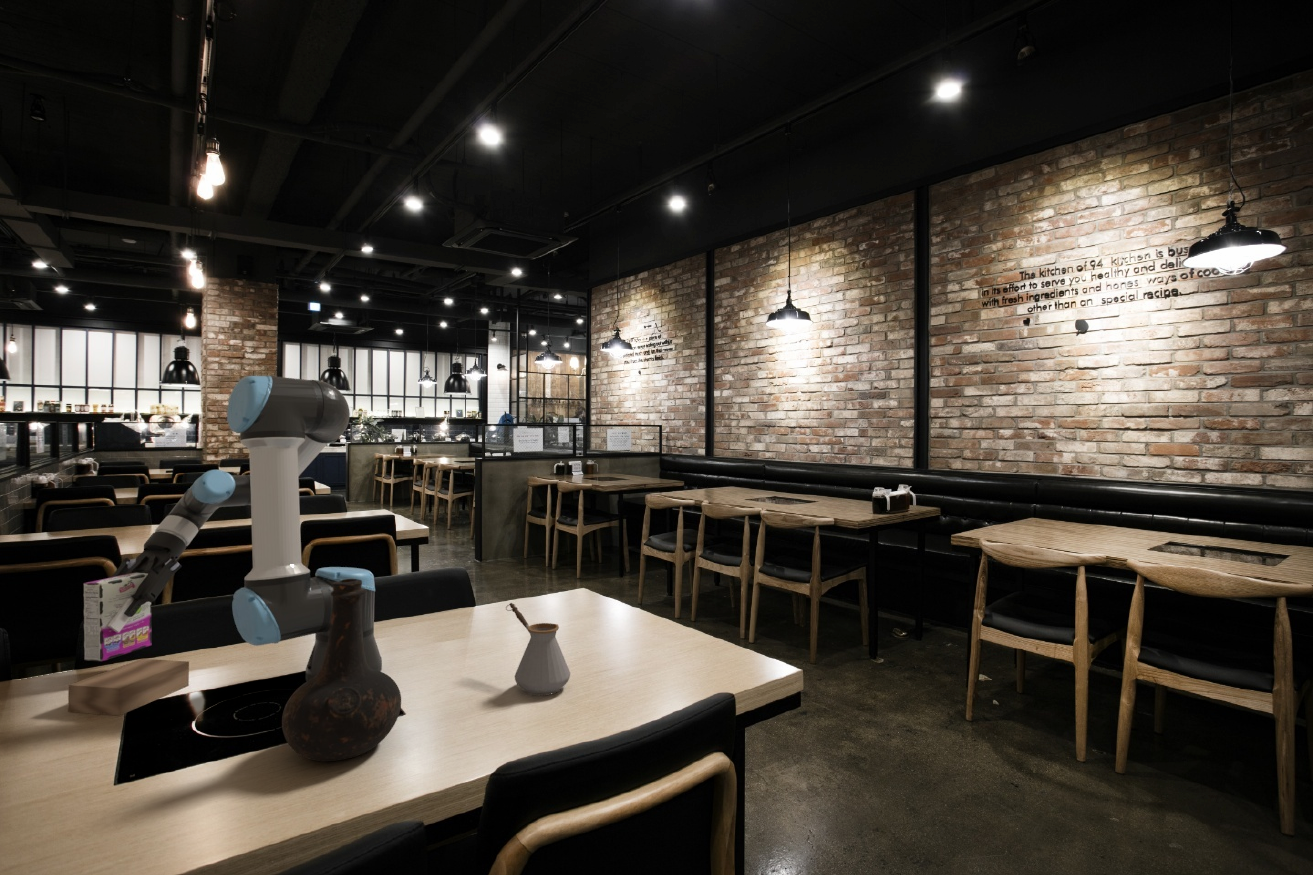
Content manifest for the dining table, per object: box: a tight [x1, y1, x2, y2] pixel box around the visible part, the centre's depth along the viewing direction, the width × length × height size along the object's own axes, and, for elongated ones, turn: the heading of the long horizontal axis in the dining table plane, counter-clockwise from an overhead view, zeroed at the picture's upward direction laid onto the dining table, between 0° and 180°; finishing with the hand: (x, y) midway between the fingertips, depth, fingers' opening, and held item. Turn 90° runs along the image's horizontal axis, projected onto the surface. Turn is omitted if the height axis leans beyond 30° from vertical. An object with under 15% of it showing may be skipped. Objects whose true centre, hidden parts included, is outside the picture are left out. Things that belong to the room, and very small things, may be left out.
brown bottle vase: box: [281, 579, 402, 762], centre depth 108 cm, size 18×18×28 cm
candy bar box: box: [83, 572, 152, 662], centre depth 140 cm, size 11×5×16 cm, turn 169°
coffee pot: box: [505, 602, 571, 697], centre depth 139 cm, size 21×12×15 cm, turn 39°
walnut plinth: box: [67, 658, 190, 716], centre depth 128 cm, size 11×15×5 cm
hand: (101, 628), depth 136 cm, fingers closed on candy bar box, 5 cm apart
